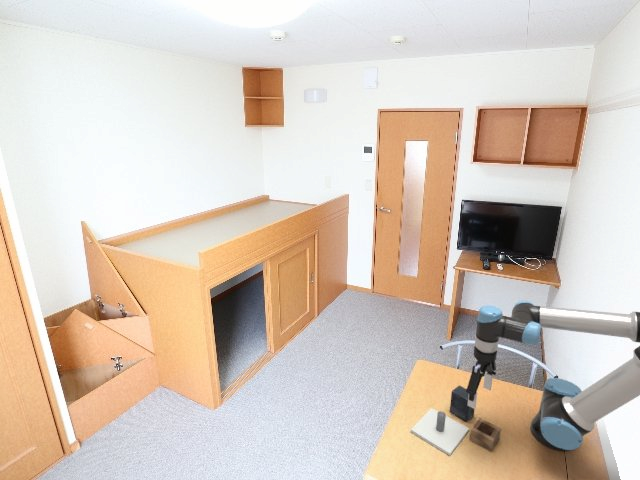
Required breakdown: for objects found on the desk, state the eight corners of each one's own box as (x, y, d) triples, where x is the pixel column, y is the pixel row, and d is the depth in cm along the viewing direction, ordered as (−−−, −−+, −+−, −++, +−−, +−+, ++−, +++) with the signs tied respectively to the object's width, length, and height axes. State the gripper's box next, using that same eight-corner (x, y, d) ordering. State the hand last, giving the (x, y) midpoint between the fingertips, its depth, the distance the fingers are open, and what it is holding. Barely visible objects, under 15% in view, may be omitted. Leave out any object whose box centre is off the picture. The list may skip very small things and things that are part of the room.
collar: (499, 439, 145) (501, 428, 144) (491, 451, 140) (492, 441, 138) (478, 427, 151) (479, 417, 149) (469, 439, 145) (471, 429, 144)
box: (473, 416, 157) (477, 394, 153) (466, 422, 153) (469, 401, 150) (456, 405, 162) (459, 384, 159) (449, 411, 159) (451, 390, 156)
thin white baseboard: (468, 430, 149) (471, 413, 147) (449, 456, 138) (452, 437, 136) (431, 410, 160) (432, 393, 157) (410, 432, 149) (412, 414, 146)
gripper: (489, 330, 148) (483, 377, 155) (459, 358, 132) (454, 409, 138) (509, 337, 143) (502, 386, 150) (481, 367, 127) (474, 420, 133)
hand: (479, 397), depth 144 cm, fingers open, 13 cm apart
